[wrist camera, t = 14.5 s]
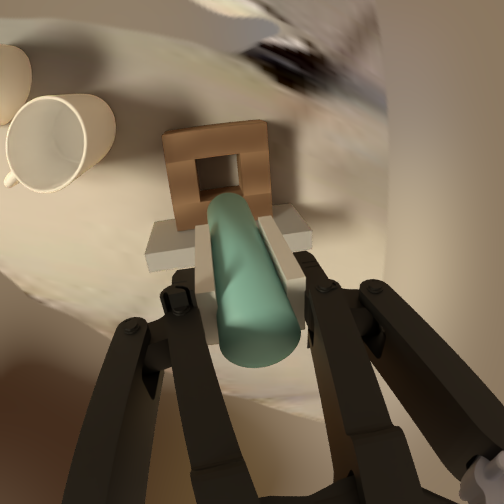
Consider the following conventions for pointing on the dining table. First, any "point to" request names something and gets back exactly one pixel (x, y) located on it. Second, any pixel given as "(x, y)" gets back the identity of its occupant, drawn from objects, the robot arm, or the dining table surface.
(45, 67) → the dining table surface
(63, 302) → the dining table surface
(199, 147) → the block
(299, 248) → the wall
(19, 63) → the mug
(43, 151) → the cup
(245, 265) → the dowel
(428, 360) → the robot arm
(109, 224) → the dining table surface
